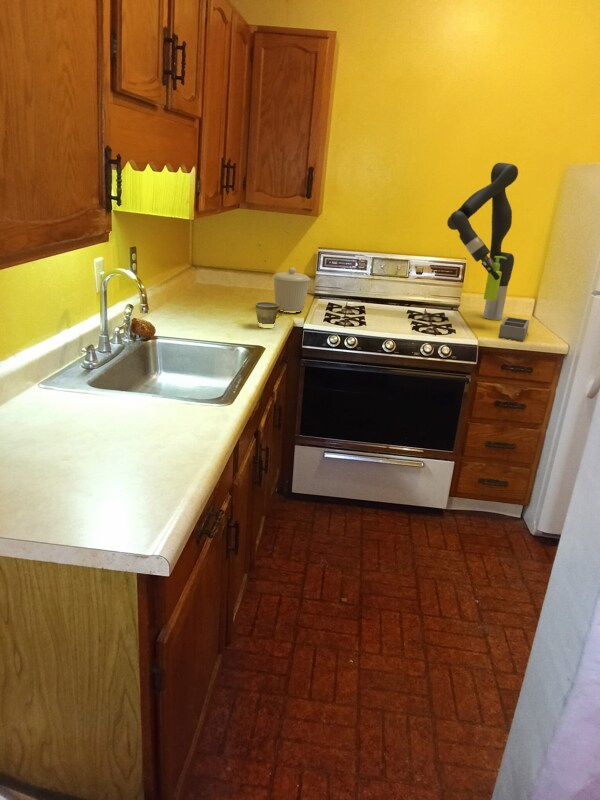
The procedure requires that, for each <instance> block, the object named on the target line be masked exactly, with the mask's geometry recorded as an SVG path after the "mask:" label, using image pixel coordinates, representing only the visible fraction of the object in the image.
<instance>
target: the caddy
mask: <svg viewBox="0 0 600 800" xmlns="http://www.w3.org/2000/svg"><path fill="white" fill-rule="evenodd" d="M529 325H530V319H523V318H517V317H510V316H506V317H505V318H504V319H503V321H502V322H501V324H500V327H499V332H498V337H499V338H498V337H497V338H498V339H502V338H505V339H504V340H508V339H511V340H510V341H514V340H515V342H521V343H522V342H523V341H524V340H525V338H526V336H527V334H528V330H529Z"/></svg>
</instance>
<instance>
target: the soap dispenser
mask: <svg viewBox="0 0 600 800" xmlns="http://www.w3.org/2000/svg"><path fill="white" fill-rule="evenodd" d="M495 258H496V259H495V263H493V266H494V267H493V268H494V269H495V271H496V272H497V274H498V275H499V276H500V278H499V279H498V280H495V279H494V277H493V276H492V275H491V274H490V273H488V272H487V279H486V285H485V289H484V295H483V299H484V300H485V301H486V300H490V301H496V300H497V295H498V290H499V285H500V279H501V274H502V272H501V271H499V269H500V264H499V258H504V259H507V258H506V257H502V256H495Z"/></svg>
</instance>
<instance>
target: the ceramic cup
mask: <svg viewBox="0 0 600 800" xmlns="http://www.w3.org/2000/svg"><path fill="white" fill-rule="evenodd" d="M279 309H282V310H283V312H281V314H279V315H278V312H279V311H278V310H279ZM255 312H256V318H257V319H256V320H257V323H258V322H259V323H262V324H274V323H275V324H276V321H277V319H278V318H280V317H281V316H282V315H284V314H285V313H284V309H283V308H279V304H277V303H275V302H272V301H258V302H255ZM277 315H278V316H277Z"/></svg>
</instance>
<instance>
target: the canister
mask: <svg viewBox="0 0 600 800" xmlns="http://www.w3.org/2000/svg"><path fill="white" fill-rule="evenodd" d="M272 278H273V286H274V287H273V288H274V290H273V291H274V303H277V304H279V308H283V309H284V311H302V310H303V311H304V308H305V304H306V299H307V293H308V289H309V283H310V281H311V280H312V279H311V278H310V277H309V276H308V275H306V274H304V273H299V272H297V270H296V268H295V267H289V268H288V269H287V272H283V271H282V272H278V273H275V274H274V275H272ZM279 310H282V309H279ZM303 311H302V312H303Z"/></svg>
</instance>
